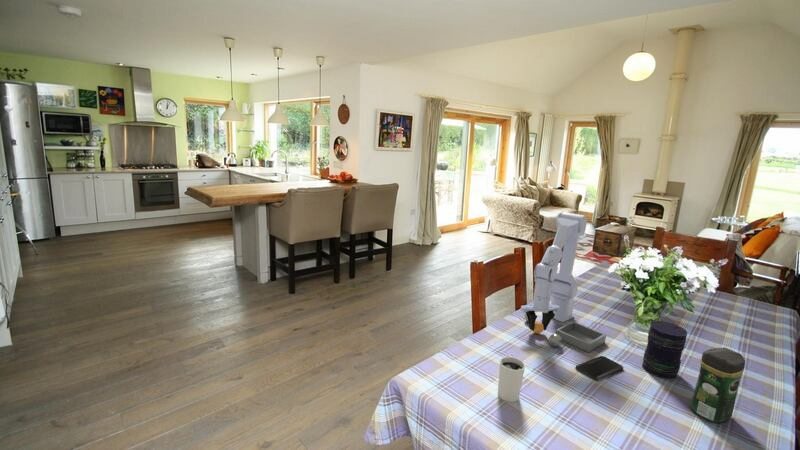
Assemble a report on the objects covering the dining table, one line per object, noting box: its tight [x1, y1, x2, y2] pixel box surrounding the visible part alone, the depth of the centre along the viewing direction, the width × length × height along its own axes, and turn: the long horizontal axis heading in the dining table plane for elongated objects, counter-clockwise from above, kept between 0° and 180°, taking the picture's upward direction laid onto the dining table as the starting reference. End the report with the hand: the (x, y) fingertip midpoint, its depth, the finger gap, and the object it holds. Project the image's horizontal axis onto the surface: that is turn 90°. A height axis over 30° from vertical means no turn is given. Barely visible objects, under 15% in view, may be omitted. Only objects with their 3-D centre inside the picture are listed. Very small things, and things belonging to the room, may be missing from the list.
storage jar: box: [641, 320, 688, 380], centre depth 124 cm, size 10×10×15 cm
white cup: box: [497, 356, 526, 403], centre depth 108 cm, size 7×7×10 cm
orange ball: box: [532, 320, 545, 334], centre depth 146 cm, size 4×4×4 cm
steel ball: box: [548, 333, 563, 348], centre depth 137 cm, size 4×4×4 cm
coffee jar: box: [689, 346, 746, 424], centre depth 105 cm, size 10×8×19 cm
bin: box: [554, 320, 607, 354], centre depth 143 cm, size 13×13×3 cm
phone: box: [575, 355, 625, 382], centre depth 125 cm, size 8×1×15 cm
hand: (537, 329), depth 146 cm, fingers closed on orange ball, 4 cm apart
